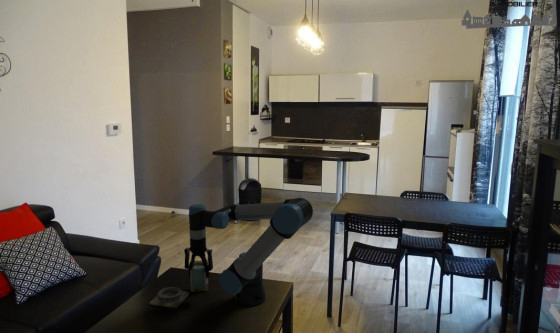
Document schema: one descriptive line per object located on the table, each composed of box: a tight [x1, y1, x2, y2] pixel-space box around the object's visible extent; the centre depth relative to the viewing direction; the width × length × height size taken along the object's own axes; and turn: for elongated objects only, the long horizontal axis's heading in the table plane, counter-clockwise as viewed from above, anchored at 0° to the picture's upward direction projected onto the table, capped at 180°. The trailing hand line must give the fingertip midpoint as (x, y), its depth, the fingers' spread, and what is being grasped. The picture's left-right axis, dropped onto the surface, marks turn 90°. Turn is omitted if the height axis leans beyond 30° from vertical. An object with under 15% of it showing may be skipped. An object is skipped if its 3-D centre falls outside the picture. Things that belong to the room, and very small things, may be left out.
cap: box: [192, 265, 206, 289], centre depth 181 cm, size 6×6×10 cm
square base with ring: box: [148, 286, 191, 309], centre depth 184 cm, size 14×14×4 cm
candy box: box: [190, 259, 209, 293], centre depth 193 cm, size 9×4×15 cm, turn 103°
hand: (199, 283), depth 182 cm, fingers closed on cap, 6 cm apart
